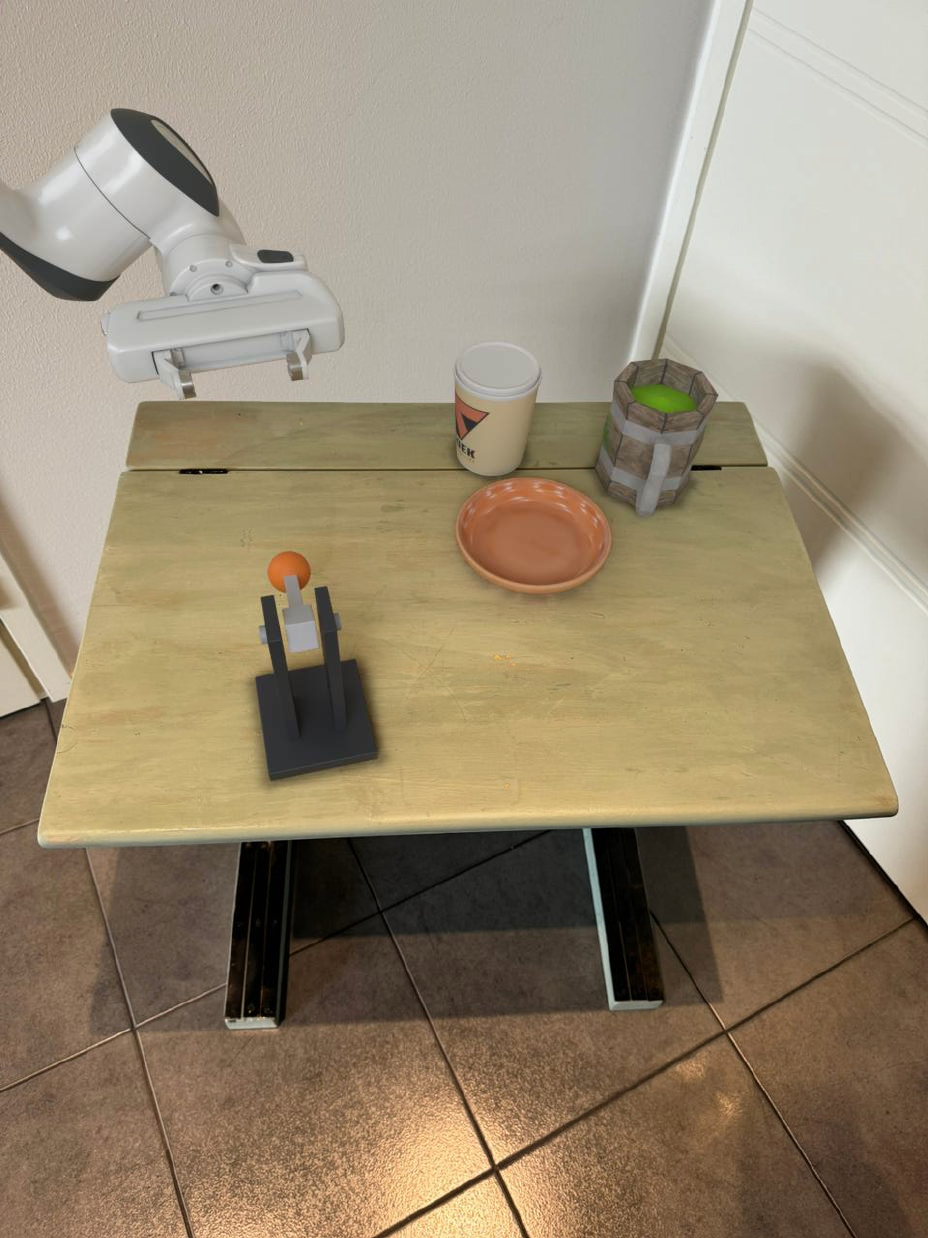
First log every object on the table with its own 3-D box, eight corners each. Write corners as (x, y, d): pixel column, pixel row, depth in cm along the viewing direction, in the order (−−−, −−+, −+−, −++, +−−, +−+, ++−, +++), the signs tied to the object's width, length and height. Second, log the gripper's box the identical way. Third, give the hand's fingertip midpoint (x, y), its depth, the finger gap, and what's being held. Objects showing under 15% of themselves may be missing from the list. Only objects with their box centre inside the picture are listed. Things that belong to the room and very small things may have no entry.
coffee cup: (439, 435, 98) (442, 345, 89) (513, 423, 100) (524, 334, 91) (463, 487, 93) (470, 397, 83) (541, 473, 95) (556, 384, 85)
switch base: (256, 684, 75) (229, 573, 63) (355, 665, 77) (346, 555, 65) (270, 781, 69) (242, 679, 57) (377, 759, 71) (371, 655, 59)
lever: (270, 585, 73) (263, 548, 71) (311, 578, 74) (305, 541, 72) (281, 662, 62) (273, 620, 60) (329, 653, 63) (323, 611, 61)
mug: (596, 439, 99) (616, 351, 90) (687, 452, 99) (717, 365, 89) (588, 531, 89) (609, 442, 80) (689, 546, 89) (722, 459, 79)
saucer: (434, 583, 83) (435, 562, 81) (478, 482, 93) (480, 461, 91) (590, 624, 81) (595, 604, 79) (619, 516, 91) (624, 496, 89)
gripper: (88, 278, 72) (102, 370, 64) (319, 249, 77) (359, 330, 70) (108, 342, 77) (124, 435, 69) (324, 311, 82) (362, 393, 75)
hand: (243, 382), depth 70 cm, fingers open, 8 cm apart
